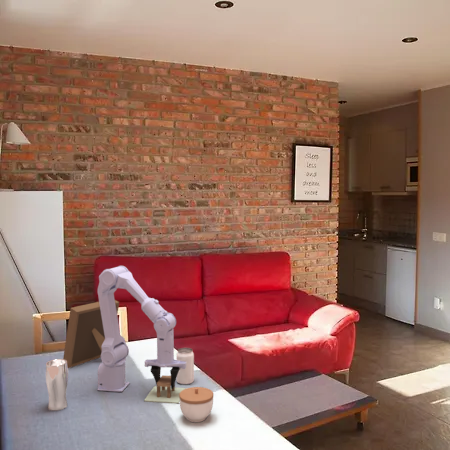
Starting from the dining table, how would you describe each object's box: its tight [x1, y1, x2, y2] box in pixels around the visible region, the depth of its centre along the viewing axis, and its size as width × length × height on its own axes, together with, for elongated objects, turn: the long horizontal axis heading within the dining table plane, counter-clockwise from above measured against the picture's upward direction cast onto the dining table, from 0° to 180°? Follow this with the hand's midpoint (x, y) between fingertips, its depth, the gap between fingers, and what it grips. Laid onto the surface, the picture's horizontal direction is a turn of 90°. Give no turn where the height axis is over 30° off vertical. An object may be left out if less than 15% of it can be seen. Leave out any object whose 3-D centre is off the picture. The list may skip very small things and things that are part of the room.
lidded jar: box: [179, 386, 214, 423], centre depth 148 cm, size 11×11×9 cm
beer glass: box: [45, 358, 69, 412], centre depth 155 cm, size 7×7×15 cm
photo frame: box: [62, 299, 120, 369], centre depth 197 cm, size 15×22×25 cm
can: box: [176, 347, 195, 385], centre depth 177 cm, size 6×6×12 cm
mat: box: [143, 385, 187, 405], centre depth 165 cm, size 12×12×1 cm
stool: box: [156, 375, 176, 398], centre depth 165 cm, size 7×5×5 cm, turn 172°
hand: (165, 387), depth 164 cm, fingers closed on stool, 4 cm apart
